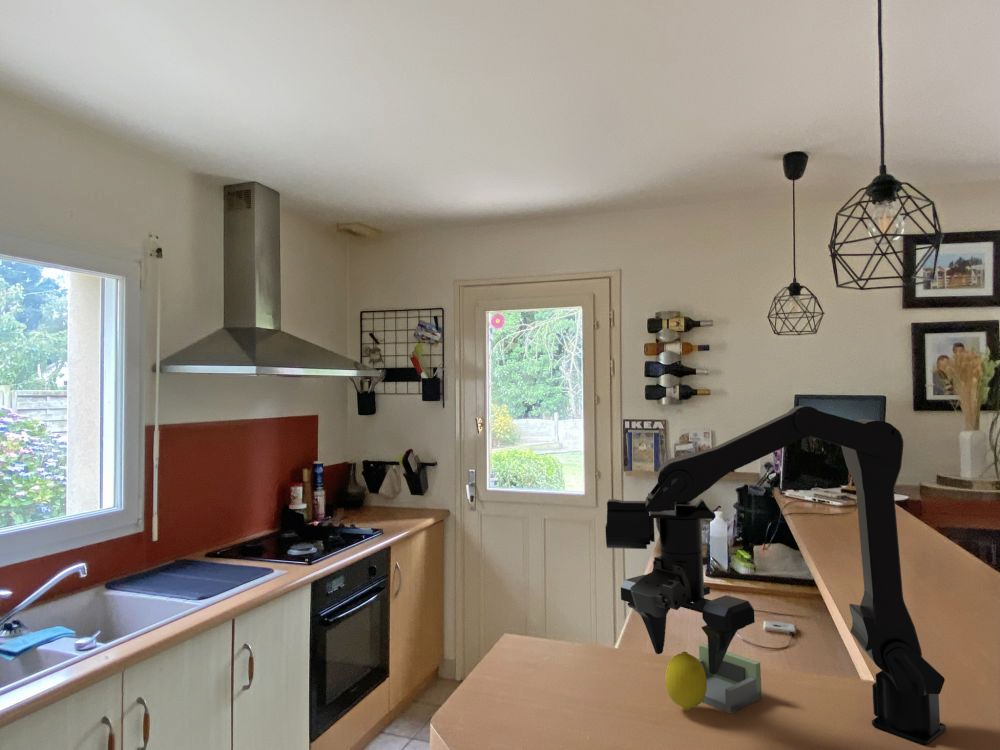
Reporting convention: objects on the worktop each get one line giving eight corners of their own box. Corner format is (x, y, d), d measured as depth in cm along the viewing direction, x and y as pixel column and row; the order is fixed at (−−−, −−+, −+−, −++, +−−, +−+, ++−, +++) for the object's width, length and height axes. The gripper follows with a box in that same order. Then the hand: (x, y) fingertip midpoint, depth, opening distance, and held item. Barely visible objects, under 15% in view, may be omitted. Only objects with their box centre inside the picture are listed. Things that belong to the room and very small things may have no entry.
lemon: (699, 700, 94) (697, 643, 94) (713, 719, 88) (711, 659, 89) (661, 702, 94) (659, 645, 94) (673, 721, 88) (670, 660, 88)
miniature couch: (761, 697, 94) (760, 662, 94) (730, 713, 90) (729, 676, 90) (705, 676, 102) (703, 643, 102) (673, 689, 97) (672, 655, 98)
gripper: (592, 547, 94) (595, 658, 94) (701, 573, 79) (706, 704, 79) (644, 536, 101) (648, 639, 100) (754, 557, 86) (759, 678, 85)
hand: (685, 663), depth 91 cm, fingers open, 9 cm apart
